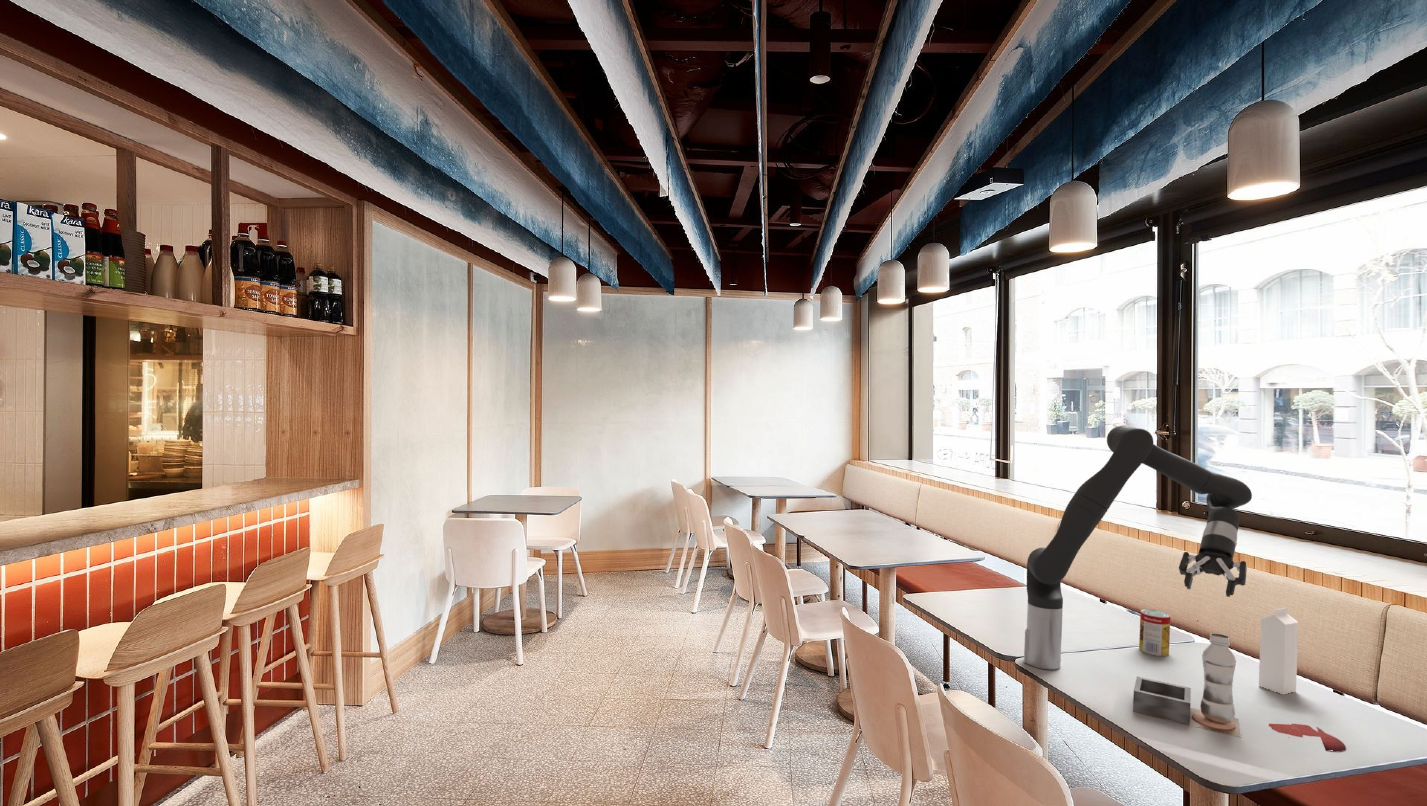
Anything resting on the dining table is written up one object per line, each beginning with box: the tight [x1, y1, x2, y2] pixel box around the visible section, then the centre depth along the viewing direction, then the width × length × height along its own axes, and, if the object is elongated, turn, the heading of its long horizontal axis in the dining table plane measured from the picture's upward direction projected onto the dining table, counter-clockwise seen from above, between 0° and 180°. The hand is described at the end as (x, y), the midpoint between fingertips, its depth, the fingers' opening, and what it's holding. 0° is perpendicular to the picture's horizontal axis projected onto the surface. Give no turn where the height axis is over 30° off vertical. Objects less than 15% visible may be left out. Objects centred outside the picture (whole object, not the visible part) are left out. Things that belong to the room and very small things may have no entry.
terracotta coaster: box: [1192, 712, 1236, 730], centre depth 166 cm, size 8×8×1 cm
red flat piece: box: [1268, 723, 1347, 752], centre depth 163 cm, size 18×14×2 cm
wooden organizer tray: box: [1132, 676, 1242, 739], centre depth 170 cm, size 21×12×6 cm, turn 56°
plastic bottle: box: [1200, 632, 1237, 723], centre depth 166 cm, size 6×7×20 cm
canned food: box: [1138, 608, 1171, 657], centre depth 219 cm, size 8×8×12 cm
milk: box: [1258, 607, 1300, 696], centre depth 192 cm, size 6×6×22 cm
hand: (1207, 591), depth 182 cm, fingers open, 8 cm apart
